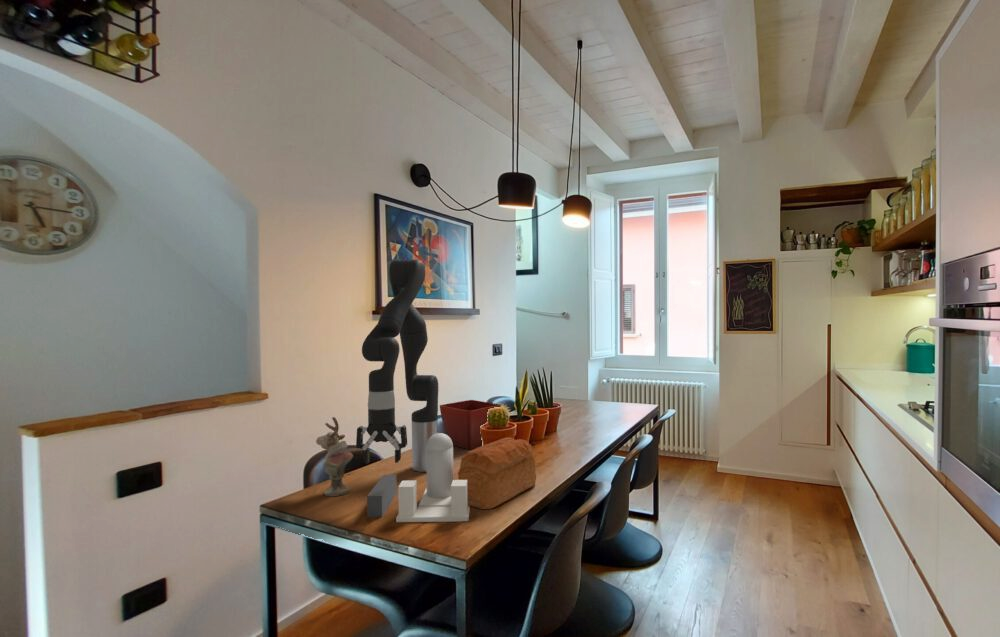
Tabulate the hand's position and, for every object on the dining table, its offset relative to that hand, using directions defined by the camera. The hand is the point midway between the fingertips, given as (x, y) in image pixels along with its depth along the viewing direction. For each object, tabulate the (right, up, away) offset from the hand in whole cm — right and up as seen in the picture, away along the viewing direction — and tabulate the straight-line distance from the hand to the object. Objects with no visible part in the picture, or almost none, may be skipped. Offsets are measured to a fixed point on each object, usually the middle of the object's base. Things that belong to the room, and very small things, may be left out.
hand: (382, 462), depth 143 cm
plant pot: (+22, -12, +66) cm, 71 cm away
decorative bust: (-18, -13, +12) cm, 25 cm away
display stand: (+16, -12, -1) cm, 20 cm away
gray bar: (0, -13, 0) cm, 13 cm away
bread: (+34, -12, +9) cm, 37 cm away
